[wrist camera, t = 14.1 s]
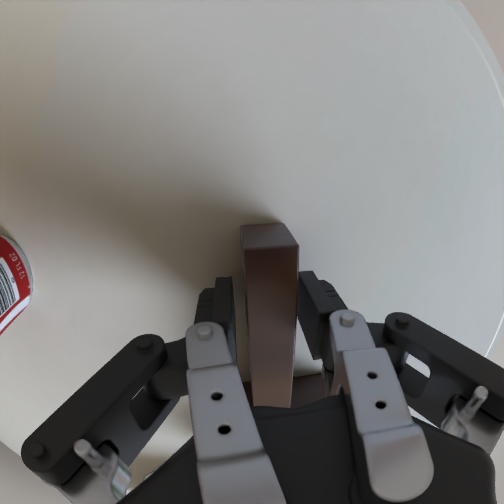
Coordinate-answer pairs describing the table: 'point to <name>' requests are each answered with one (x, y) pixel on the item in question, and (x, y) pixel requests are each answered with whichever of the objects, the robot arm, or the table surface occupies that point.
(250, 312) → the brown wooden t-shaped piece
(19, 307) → the soda can
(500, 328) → the table surface
